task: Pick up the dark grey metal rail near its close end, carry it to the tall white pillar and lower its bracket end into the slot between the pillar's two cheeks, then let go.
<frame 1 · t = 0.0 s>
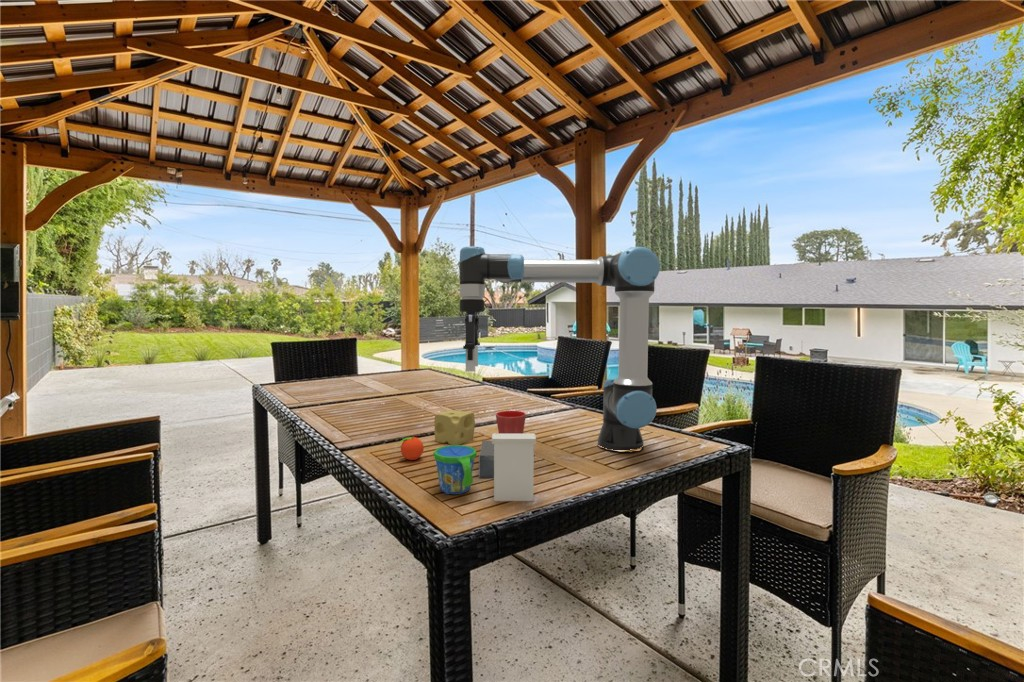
hand: (472, 368, 143), 28 cm above the table, tool pointing down, fingers open, 13 cm apart
snack cup: (455, 490, 119), on the table
tall white pillar: (513, 491, 118), on the table
clementine: (410, 460, 143), on the table
rail: (487, 468, 136), on the table
cheese: (454, 441, 165), on the table
flower pot: (510, 441, 166), on the table
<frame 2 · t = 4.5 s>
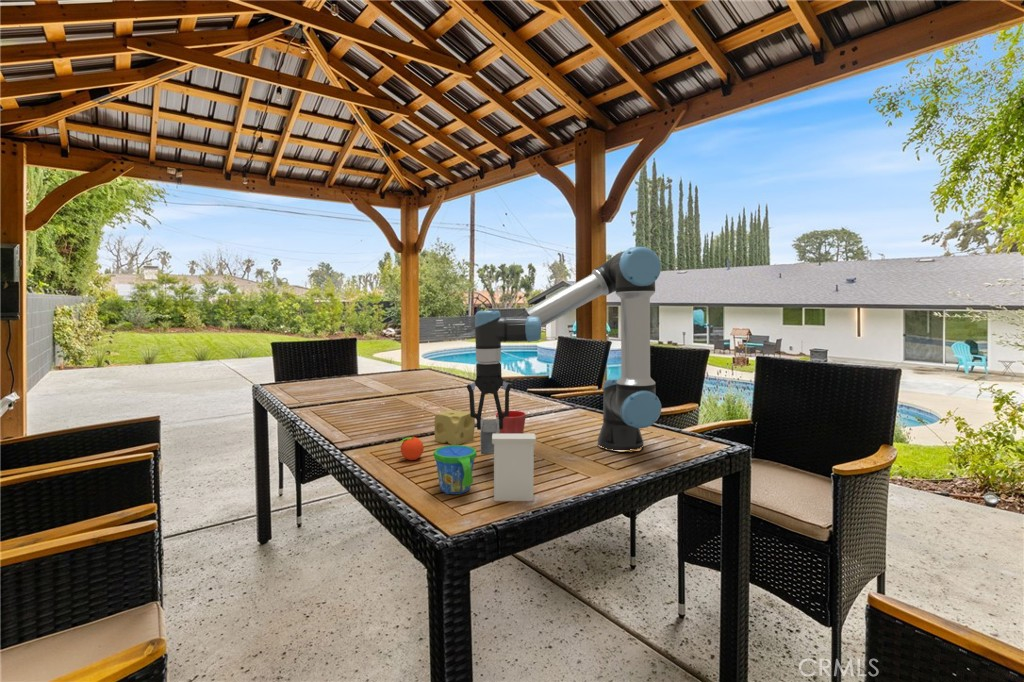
hand: (490, 439, 140), 7 cm above the table, tool pointing down, fingers closed on rail, 4 cm apart
rail: (489, 446, 135), point 7 cm above the table, touching gripper
everything else where it was.
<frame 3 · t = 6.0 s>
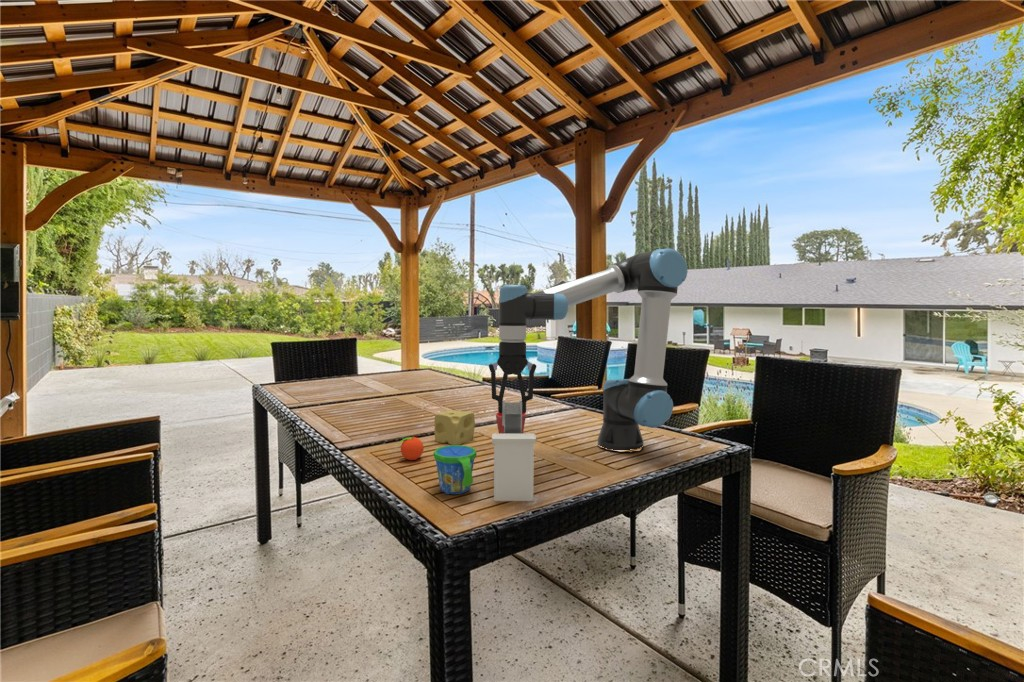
hand: (512, 424, 131), 14 cm above the table, tool pointing down, fingers closed on rail, 4 cm apart
rail: (512, 430, 126), point 13 cm above the table, touching gripper
everything else where it was.
when the fingers open (0 cm above the table, at t = 8.0 s): rail stays where it is, on the table.
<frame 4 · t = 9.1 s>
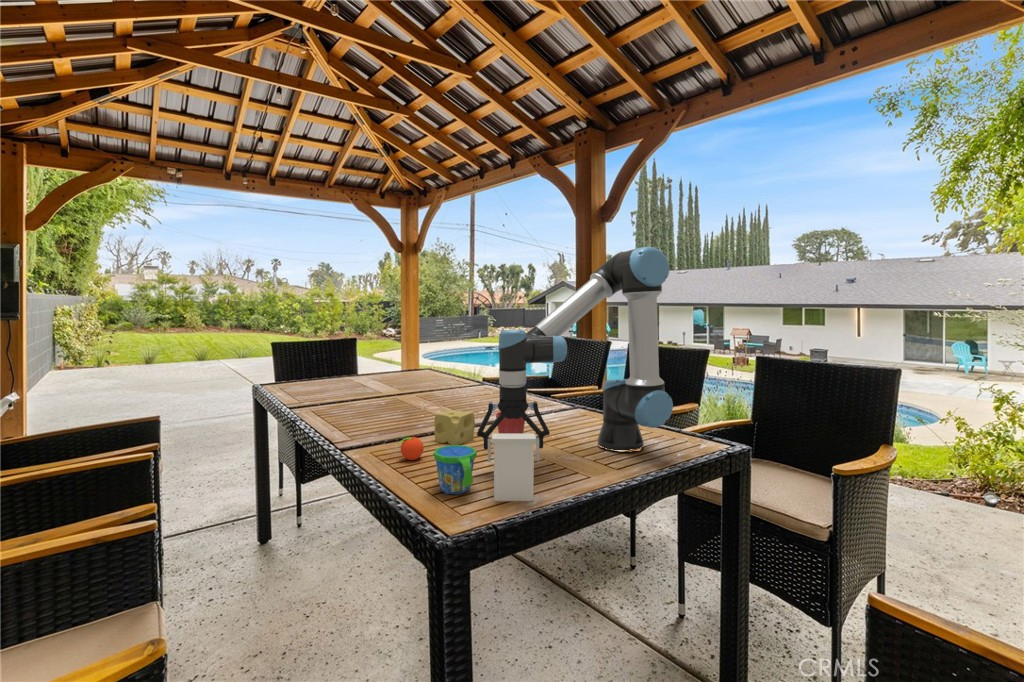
hand: (513, 460, 132), 4 cm above the table, tool pointing down, fingers open, 13 cm apart
rail: (512, 479, 127), on the table
everything else where it was.
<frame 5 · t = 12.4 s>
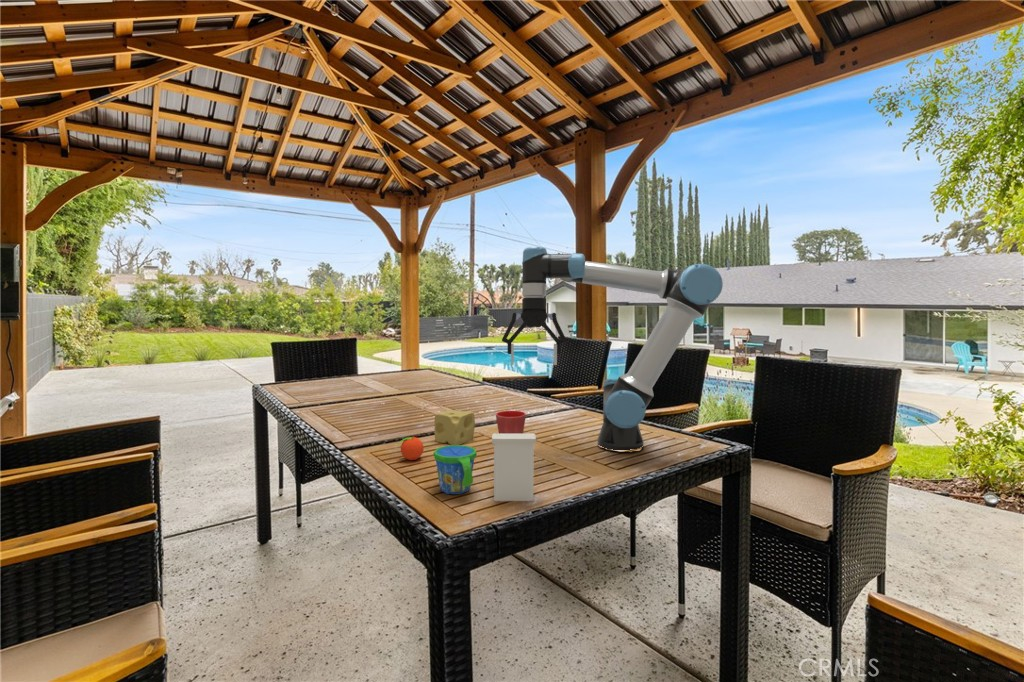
hand: (533, 364, 148), 29 cm above the table, tool pointing down, fingers open, 13 cm apart
nothing on the table moved.
at the end: rail 0.1 cm from the target spot, on the table; rail tilted 0°; the gripper is holding nothing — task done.
